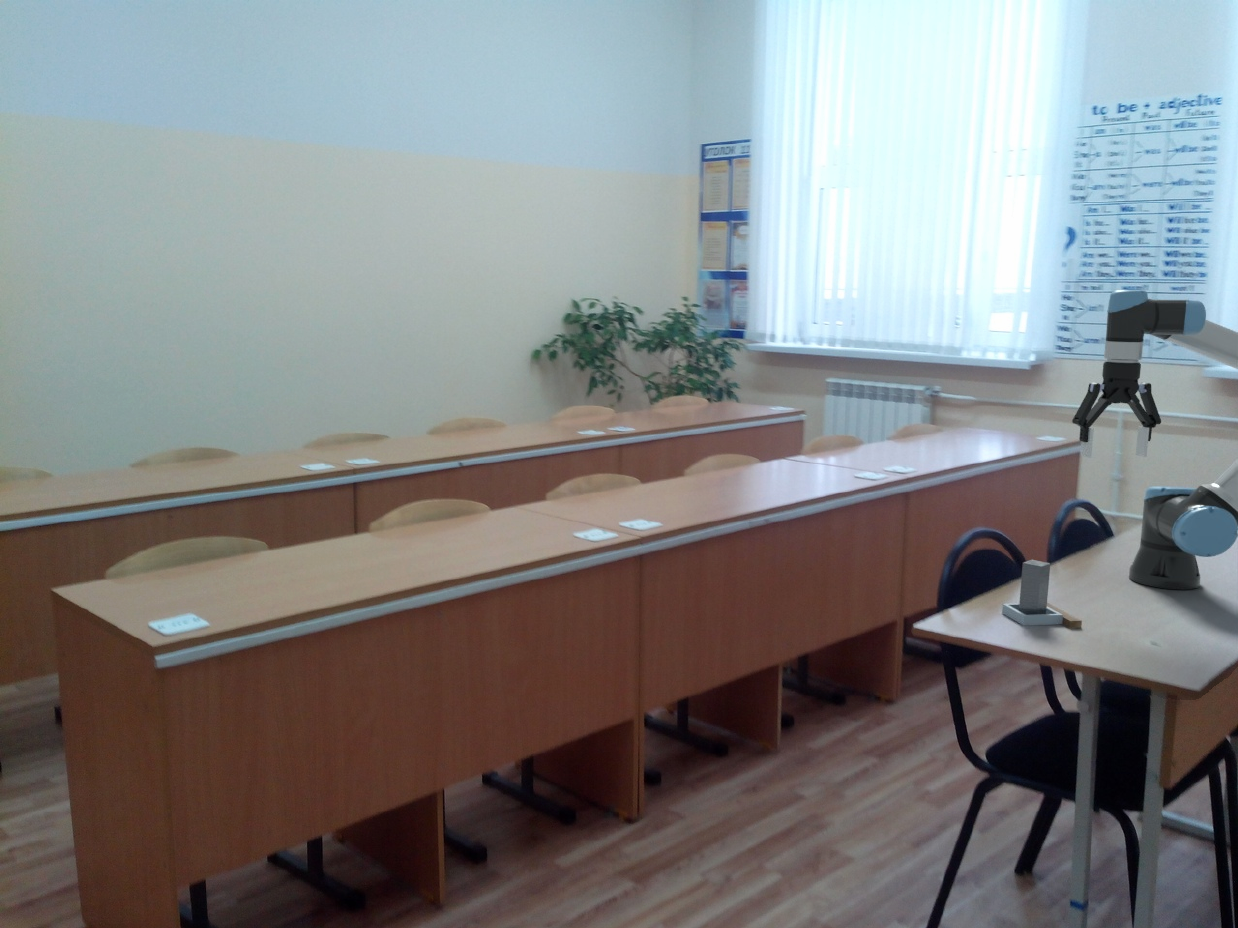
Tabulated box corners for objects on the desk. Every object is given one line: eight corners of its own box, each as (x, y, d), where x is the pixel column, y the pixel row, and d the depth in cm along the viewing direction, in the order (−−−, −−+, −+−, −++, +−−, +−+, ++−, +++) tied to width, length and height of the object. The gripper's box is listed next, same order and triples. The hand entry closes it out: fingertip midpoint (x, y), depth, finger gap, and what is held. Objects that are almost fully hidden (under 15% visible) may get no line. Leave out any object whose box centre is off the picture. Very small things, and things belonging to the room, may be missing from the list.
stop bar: (1027, 614, 223) (1031, 559, 221) (1045, 618, 220) (1050, 563, 218) (1018, 618, 220) (1022, 562, 218) (1036, 622, 217) (1041, 566, 215)
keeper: (1039, 611, 225) (1039, 602, 225) (1062, 623, 217) (1063, 614, 216) (1002, 612, 224) (1002, 603, 223) (1023, 625, 215) (1024, 616, 215)
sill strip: (1043, 607, 228) (1043, 600, 228) (1081, 627, 215) (1081, 620, 214) (1032, 607, 228) (1033, 601, 227) (1070, 628, 214) (1070, 621, 214)
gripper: (1161, 360, 237) (1152, 452, 241) (1060, 359, 233) (1053, 454, 236) (1184, 362, 230) (1175, 457, 233) (1080, 362, 226) (1072, 459, 229)
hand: (1113, 456), depth 235 cm, fingers open, 13 cm apart
